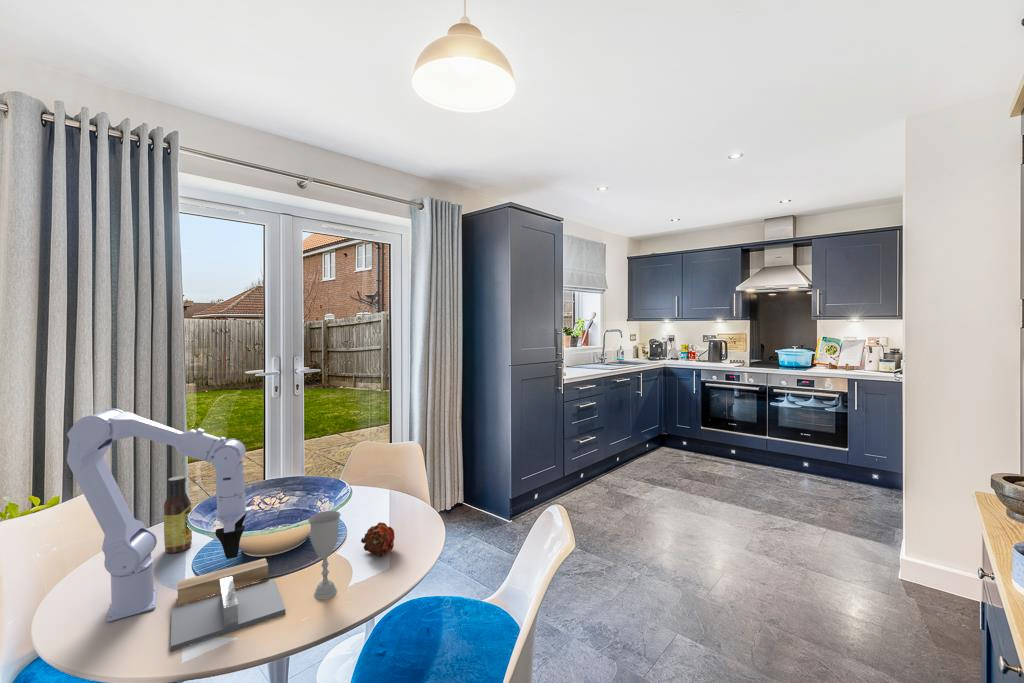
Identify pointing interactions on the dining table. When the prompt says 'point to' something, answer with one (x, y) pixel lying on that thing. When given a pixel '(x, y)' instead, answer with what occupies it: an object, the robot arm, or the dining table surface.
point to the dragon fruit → (379, 539)
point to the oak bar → (211, 581)
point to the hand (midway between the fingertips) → (233, 550)
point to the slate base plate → (208, 617)
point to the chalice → (324, 547)
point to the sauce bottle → (177, 516)
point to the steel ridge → (228, 601)
